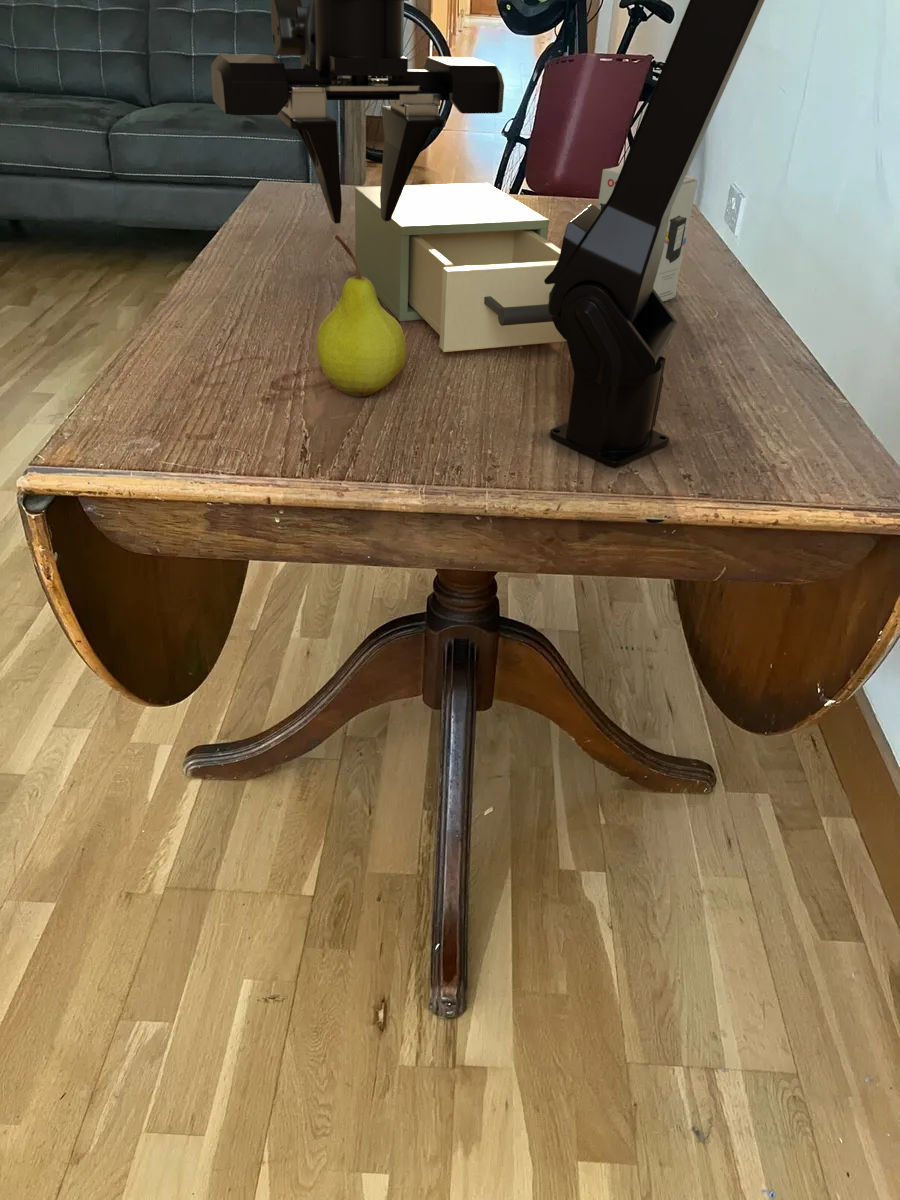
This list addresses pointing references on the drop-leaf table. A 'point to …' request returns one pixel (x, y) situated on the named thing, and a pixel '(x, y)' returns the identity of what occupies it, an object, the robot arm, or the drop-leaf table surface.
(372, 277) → the cabinet
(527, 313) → the drawer
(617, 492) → the drop-leaf table surface
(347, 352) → the fruit
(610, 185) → the ink box
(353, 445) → the drop-leaf table surface
